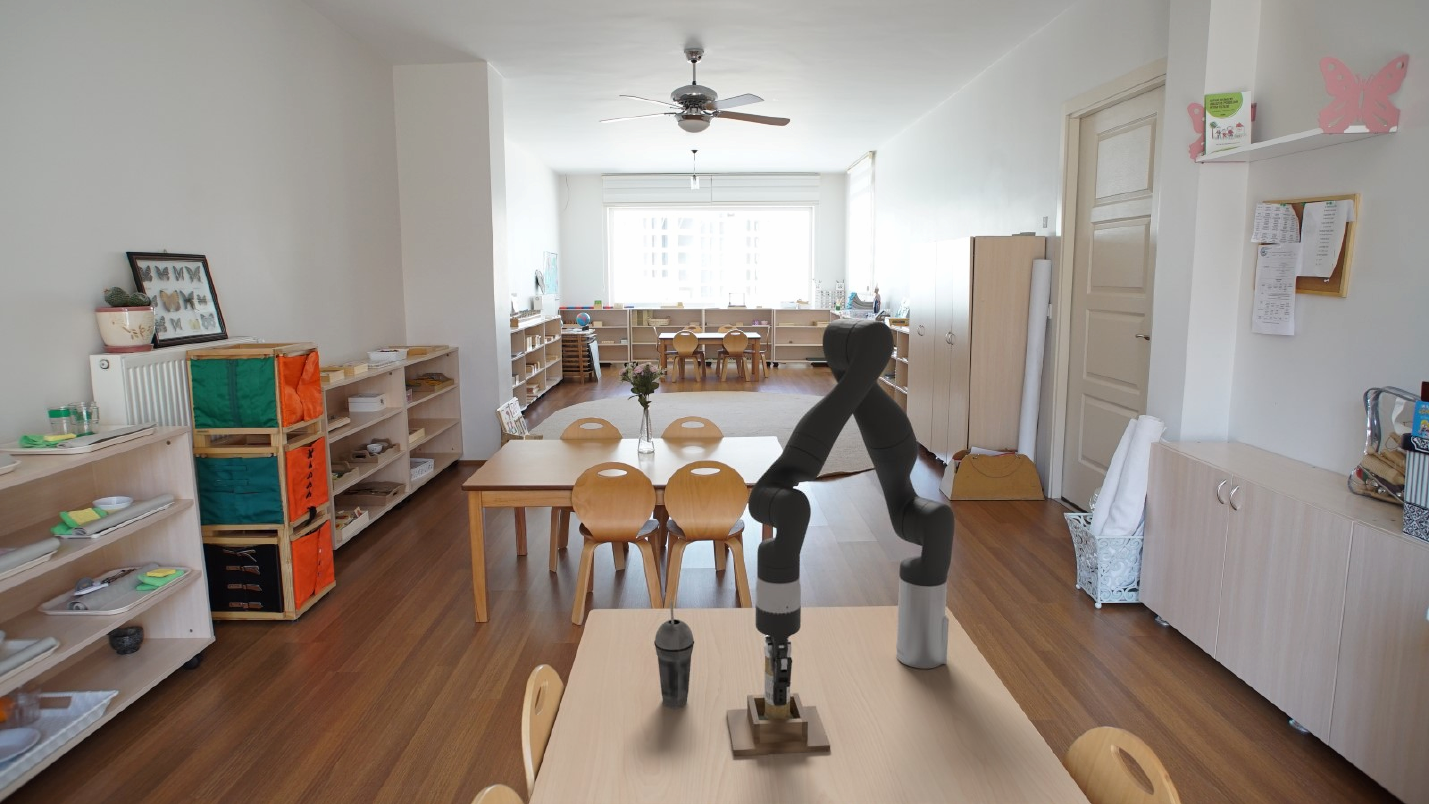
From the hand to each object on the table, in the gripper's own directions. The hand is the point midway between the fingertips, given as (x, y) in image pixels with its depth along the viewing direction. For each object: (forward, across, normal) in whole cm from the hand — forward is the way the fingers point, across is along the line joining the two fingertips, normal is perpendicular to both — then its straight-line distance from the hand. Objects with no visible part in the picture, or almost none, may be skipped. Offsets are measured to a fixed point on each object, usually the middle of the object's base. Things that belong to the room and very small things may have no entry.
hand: (777, 696), depth 136 cm
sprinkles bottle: (+4, 0, 0) cm, 4 cm away
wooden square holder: (+7, 0, 0) cm, 7 cm away
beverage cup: (+7, +11, +17) cm, 22 cm away
